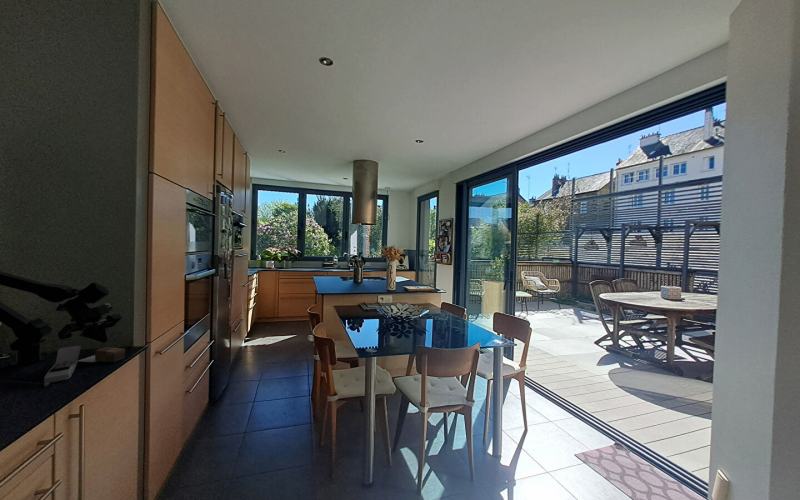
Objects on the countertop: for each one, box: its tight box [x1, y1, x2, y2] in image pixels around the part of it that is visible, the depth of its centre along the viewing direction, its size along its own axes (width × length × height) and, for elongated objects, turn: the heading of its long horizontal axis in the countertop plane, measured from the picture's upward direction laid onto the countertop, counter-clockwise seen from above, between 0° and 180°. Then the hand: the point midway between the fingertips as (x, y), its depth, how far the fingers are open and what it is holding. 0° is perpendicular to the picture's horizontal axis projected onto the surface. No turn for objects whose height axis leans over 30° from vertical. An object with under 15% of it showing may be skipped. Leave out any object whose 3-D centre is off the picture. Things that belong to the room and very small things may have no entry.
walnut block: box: [94, 346, 126, 363], centre depth 117 cm, size 4×4×8 cm
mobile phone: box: [43, 345, 82, 388], centre depth 106 cm, size 6×6×25 cm
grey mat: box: [77, 354, 98, 363], centre depth 117 cm, size 8×6×1 cm
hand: (105, 341), depth 117 cm, fingers closed
